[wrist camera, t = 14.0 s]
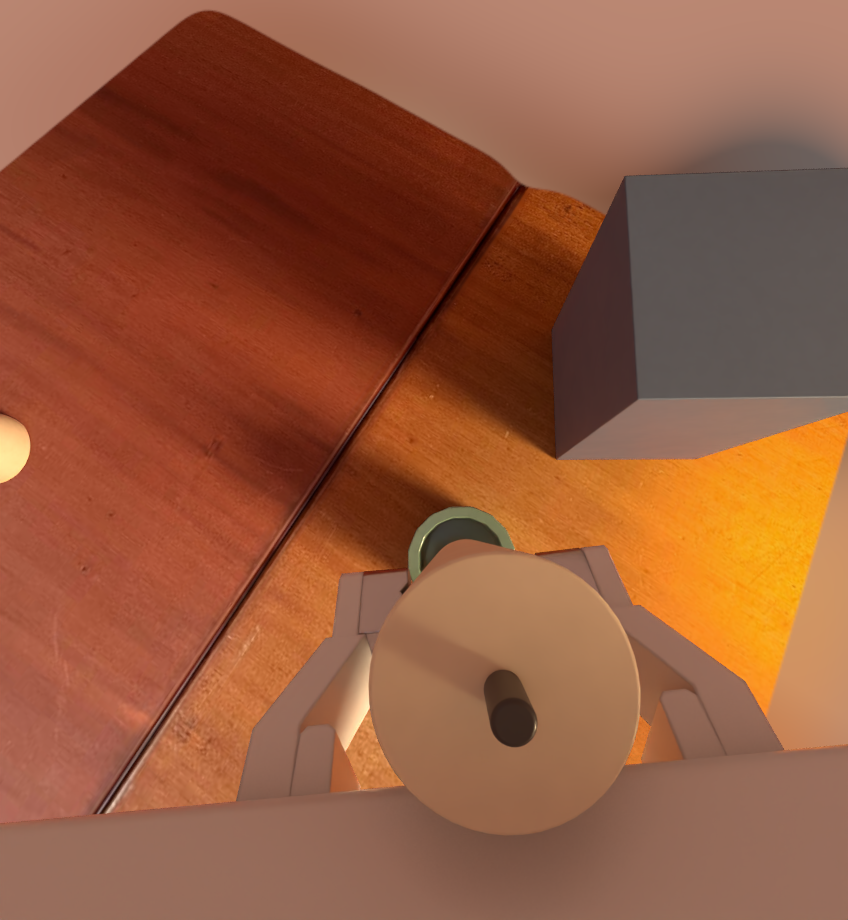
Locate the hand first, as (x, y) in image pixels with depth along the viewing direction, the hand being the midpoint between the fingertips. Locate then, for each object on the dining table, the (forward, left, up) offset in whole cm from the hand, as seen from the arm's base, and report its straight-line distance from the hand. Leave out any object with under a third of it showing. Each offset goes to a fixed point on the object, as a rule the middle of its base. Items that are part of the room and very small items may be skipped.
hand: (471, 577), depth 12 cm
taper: (0, +1, -8) cm, 8 cm away
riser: (-12, -11, -26) cm, 31 cm away
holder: (0, +1, -26) cm, 26 cm away
